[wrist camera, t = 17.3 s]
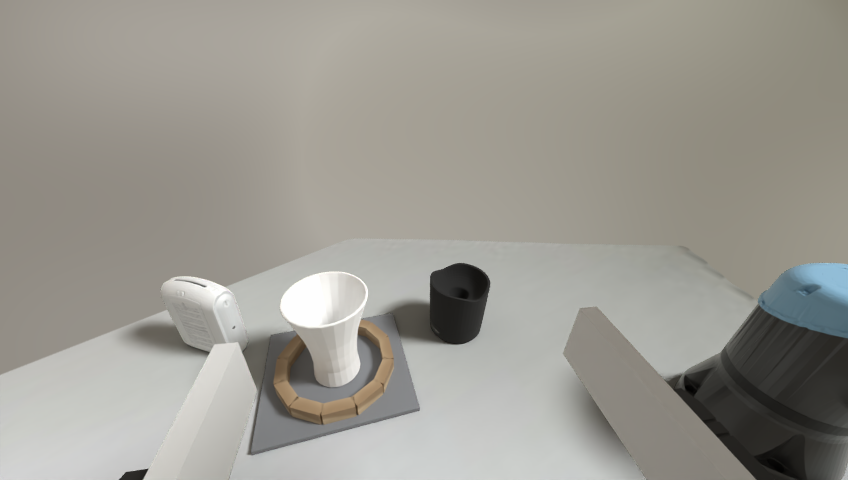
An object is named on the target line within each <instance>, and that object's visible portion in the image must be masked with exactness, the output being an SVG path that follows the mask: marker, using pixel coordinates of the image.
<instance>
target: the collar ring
mask: <svg viewBox="0 0 848 480" xmlns="http://www.w3.org/2000/svg"><path fill="white" fill-rule="evenodd" d="M357 335H361V336H365V337H367V338H368V339H369V340H370V341H371V342H373V343H374V344H375V345H376V346H377V347H378V348H379V349H380V353H381V358H382V362H381V364H380V366H379V369H378V371H377V373H376V376H375V378H374V380H372V381H371V382H370V383H369V384H367V385H366V386H365V387H363V388H362V389H361V390H360V391H358V392H357V393H356V394H355V395H353V396H352V397H348V398H344V399H340V400H336V401H331V402H327V403H320V402H317V401H313V400H309V399H305V398H302V397H298V395H297V394H296V392H295V391H294V390H293V388H292V387H291V386H290V384H289V381H290V370H291V366H292V365H293V364H294V362H295V361H296V359H297V358H298V357H299V355H300V354H301V352H302V351H303V350H304V349H305V348H306V347H307V346H306V344H305V343H304V341H303V340H302V339H301V338H300V336H299V335H298V334H297V335H296V337H295V336H294V337H293V339H292V340H291V341H290V342H289V344H288V345H287V346H286V347H285V349H284V350H283V351H282V352H281V354H280V355H279V356H278V359H277V362H276V369H275V376H274V383H273V384H274V387H275V390H276V393H277V395H278V397H279V398H280V400H281V401H282V403H283V404H284V406H285V407H286V409H287V410H288V412H289V413H290V415H292V416H293V417H296V418H299V419H303V420H306V421H310V422H313V423H317V424H320V425H322V423H323V424H324V425H325V424H329V423H333V422H337V421H341V420H345V419H348V418H352V417H356V416H357V415H356V413H357V414H358V415H360V414H361V413H362V412H363V411H364V410H366V409H367V408H368V407H369V406H370V405H371V404H373V403H374V402H375V401H376V400H377V399H378V398H380V397H381V396H382V395H383V393H384V392H385V390H386V387H387V385H388V382H389V379H390V377H391V374H392V372H393V369H394V357H393V353H392V349H391V345H390V341H389V337H388V335H387V334H385V333H384V332H383V331H382V330H381V329H379V328H378V327H377V326H376V325H375V324H373V323H372V322H371V323H370V321H366V320H361V321H360V324H359V328H358V334H357Z"/></svg>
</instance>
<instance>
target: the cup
mask: <svg viewBox="0 0 848 480" xmlns="http://www.w3.org/2000/svg"><path fill="white" fill-rule="evenodd" d="M367 296H368V291H367V287H366V285H365V284H364V282H363V281H362V280H361V279H359V278H358V277H356V276H354V275H352V274H349V273H344V272H324V273H318V274H315V275H311V276H308V277H306V278H304V279H302V280H300V281H298V282H297V283H295V284H294V285H292V286H291V287H290V288H289V289H288V290H287V291H286V292H285V294H284V295H283V297H282V299H281V301H280V311H281V314H282V316H283V317H284V319H285V320H286V321H287V322H288V323H289V324H290V325H291V327H292V328H293V329H294V330H295V331H296V333H297V334H298V335H299V336H300V338H301V339H302V340H303V341H304V343H305V344H306V346H307V348H308V350H309V352H310V354H311V357H312V360H313V363H314V375H315V378H316V380H317V381H318V382H319V383H320V384H321V385H323V386H326V387H339V386H343V385H345V384H347V383H349V382H350V381H351V380H353V379H354V378H355V376H356V375H357V374H358V372H359V369H360V359H359V355H358V351H357V334H358V328H359V324H360V321H361V317H362V314H363V311H364V307H365V304H366V301H367Z"/></svg>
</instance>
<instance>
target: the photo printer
mask: <svg viewBox="0 0 848 480" xmlns="http://www.w3.org/2000/svg"><path fill="white" fill-rule="evenodd" d="M160 293H161V298H162V300H163V302H164V304H165V306H166V307H167V310H168V312H169V314H170V316H171V318H172V320H173V322H174V324H175V326H176V328H177V330H178V332H179V334H180V336H181V338H182V339H183V341H184V342H185V343H186V344H188V345H190V346H193V347H195V348H199V349H201V350H205V351H208V352H211V350H212V348H213V346H214V345H215V344H225V343H235V342H238V343H239V346H240V348H241V351H243V350H244V349H245V348H246V347H247V344H248V343H247V342H248V340H249V338H248V334H247V331H246V328H245V325H244V323H243V320H242V317H241V314H240V311H239V308H238V305H237V302H236V300H235V297H234V295H233V293H232V292H231V291H230V290H228V289H227V288H225V287H223V286H221V285H219V284H217V283H214V282H211V281H208V280H205V279H201V278H196V277H188V276H181V277H174V278H171V279H170V280H169V281H166V282H165V283H164V284H163V285H162V287H161V292H160Z"/></svg>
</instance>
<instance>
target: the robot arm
mask: <svg viewBox="0 0 848 480" xmlns="http://www.w3.org/2000/svg"><path fill="white" fill-rule="evenodd" d="M563 354H564V356H565V357H566V359H567V360H568V362H569V363H570V365H571V366H572V368H573V369H574V371H575V372H576V374H577V375H578V377H579V378H580V380H581V381H582V383H583V384H584V386H585V387H586V389H587V390H588V392H589V393H590V395H591V396H592V398H593V399H594V401H595V402H596V404H597V405H598V407H599V408H600V410H601V411H602V413H603V415H604V416H605V418H606V419H607V421H608V422H609V424H610V425H611V427H612V428H613V430H614V431H615V433H616V434H617V436H618V437H619V439H620V440H621V442H622V443H623V445H624V446H625V448H626V449H627V451H628V452H629V454H630V455H631V457H632V458H633V460H634V461H635V463H636V464H637V466H638V467H639V469H640V470H641V472H642V473H643V475H644V476H645V478H646V479H647V480H841V479H842V477H843V476H844V474H845V470H846V467H847V463H848V264H839V263H810V264H803V265H799V266H796V267H793V268H790V269H788V270H786V271H785V272H784V273H782V274H781V275H780V276H779V277H778V279H777V280H776V281H775V282H774V283H773V284H772V286H771V287H770V288H769V289H768V290H766V291H764V292H763V293H762V294H761V295H760V297H759V298H758V305H757V306H756V307H755V309H754V310H753V311H752V312H751V314H750V315H749V316H748V318H747V319H746V320H745V321H744V323H743V324H742V325H741V326H740V328H739V329H738V330H737V332H736V333H735V334H734V335H733V337H732V338H731V339H730V341H729V342H728V343H727V345H726V346H725V347H724V349H723V350H722V351H721V352H720V353H719V354H717V355H715V356H713V357H711V358H709V359H707V360H705V361H703V362H701V363H699V364H697V365H695V366H693V367H691V368H689V369H688V370H687V371H685V372H684V373H683V375H682V376H681V378H680V379H679V380H678V382H677V383H676V386H675V389H672V388H671V387H670V386H669V385H668V383H667V382H666V381H665V380H664V379H663V378H662V377H661V376H660V375H659V374H658V373H657V372H656V370H655V369H654V368H653V367H652V366H651V365H650V364H649V363H648V362H647V361H646V360H645V359H644V357H643V356H642V355H641V354H640V353H639V352H638V351H637V350H636V349H635V348H634V347H633V346H632V344H631V343H630V342H629V341H628V340H627V339H626V338H625V337H624V336H623V335H622V334H621V333H620V331H619V330H618V329H617V328H616V327H615V326H614V325H613V324H612V323H611V322H610V321H609V320H608V318H607V317H606V316H605V315H604V314H603V313H602V312H601V311H600V310H599V309H598V308H597V307H588V308H580V309H579V312H578V315H577V317H576V320H575V323H574V325H573V328H572V331H571V333H570V336H569V339H568V341H567V344H566V347H565V349H564V352H563ZM256 393H257V389H256V386H255V384H254V381H253V379H252V376H251V374H250V371H249V369H248V366H247V363H246V361H245V358H244V356H243V353H242V351H241V348H240V346H239V343H238V342H235V343H225V344H215V345H214V346H213V348H212V350H211V352H210V354H209V356H208V357H207V359H206V361H205V363H204V365H203V367H202V369H201V371H200V373H199V374H198V376H197V378H196V380H195V382H194V384H193V386H192V388H191V390H190V392H189V393H188V395H187V397H186V399H185V401H184V403H183V405H182V407H181V409H180V411H179V412H178V414H177V416H176V418H175V420H174V422H173V424H172V426H171V428H170V430H169V431H168V433H167V435H166V437H165V439H164V441H163V443H162V445H161V447H160V449H159V450H158V452H157V454H156V456H155V458H154V460H153V462H152V464H151V466H150V468H149V469H144V470H137V471H131V472H126V473H125V474H124V475H123V476H122V477H121V478H120V479H119V480H229V476H230V473H231V470H232V467H233V464H234V461H235V458H236V455H237V452H238V449H239V446H240V443H241V440H242V436H243V433H244V430H245V427H246V424H247V421H248V418H249V415H250V412H251V409H252V406H253V403H254V400H255V396H256Z"/></svg>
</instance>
